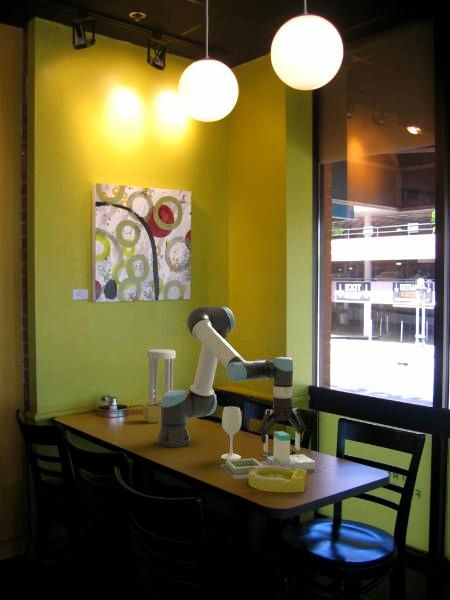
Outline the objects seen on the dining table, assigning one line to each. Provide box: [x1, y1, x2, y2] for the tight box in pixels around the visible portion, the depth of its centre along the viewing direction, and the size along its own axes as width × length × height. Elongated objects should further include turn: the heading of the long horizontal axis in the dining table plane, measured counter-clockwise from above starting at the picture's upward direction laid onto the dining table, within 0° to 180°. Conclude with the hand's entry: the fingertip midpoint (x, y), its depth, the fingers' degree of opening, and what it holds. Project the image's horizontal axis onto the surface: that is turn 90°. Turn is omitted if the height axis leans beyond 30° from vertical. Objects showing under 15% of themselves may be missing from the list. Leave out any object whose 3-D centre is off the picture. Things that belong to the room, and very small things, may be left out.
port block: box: [266, 453, 316, 471], centre depth 247 cm, size 16×11×4 cm
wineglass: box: [220, 406, 242, 460], centre depth 262 cm, size 9×9×21 cm
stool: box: [146, 348, 177, 404], centre depth 351 cm, size 16×16×35 cm
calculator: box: [260, 449, 296, 459], centre depth 264 cm, size 9×12×3 cm
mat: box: [219, 460, 323, 480], centre depth 246 cm, size 36×19×1 cm, turn 108°
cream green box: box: [272, 430, 291, 464], centre depth 246 cm, size 4×7×14 cm, turn 18°
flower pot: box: [141, 402, 161, 424], centre depth 326 cm, size 9×9×9 cm
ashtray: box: [248, 465, 308, 493], centre depth 227 cm, size 16×21×5 cm
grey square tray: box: [225, 458, 263, 474], centre depth 246 cm, size 12×11×2 cm
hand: (281, 450), depth 246 cm, fingers open, 13 cm apart
